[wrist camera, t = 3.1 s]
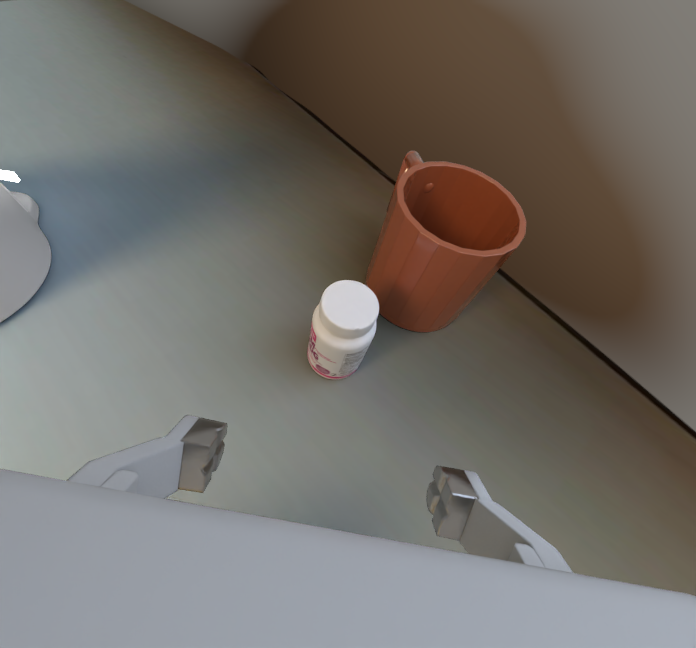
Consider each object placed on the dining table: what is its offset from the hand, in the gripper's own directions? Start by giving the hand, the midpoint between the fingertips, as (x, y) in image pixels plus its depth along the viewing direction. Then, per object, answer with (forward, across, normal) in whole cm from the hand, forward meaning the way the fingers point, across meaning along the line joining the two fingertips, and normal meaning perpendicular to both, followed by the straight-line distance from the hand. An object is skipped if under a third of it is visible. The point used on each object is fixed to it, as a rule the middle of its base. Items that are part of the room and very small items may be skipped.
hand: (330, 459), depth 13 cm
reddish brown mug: (+25, -6, -6) cm, 26 cm away
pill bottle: (+17, 0, +2) cm, 17 cm away
